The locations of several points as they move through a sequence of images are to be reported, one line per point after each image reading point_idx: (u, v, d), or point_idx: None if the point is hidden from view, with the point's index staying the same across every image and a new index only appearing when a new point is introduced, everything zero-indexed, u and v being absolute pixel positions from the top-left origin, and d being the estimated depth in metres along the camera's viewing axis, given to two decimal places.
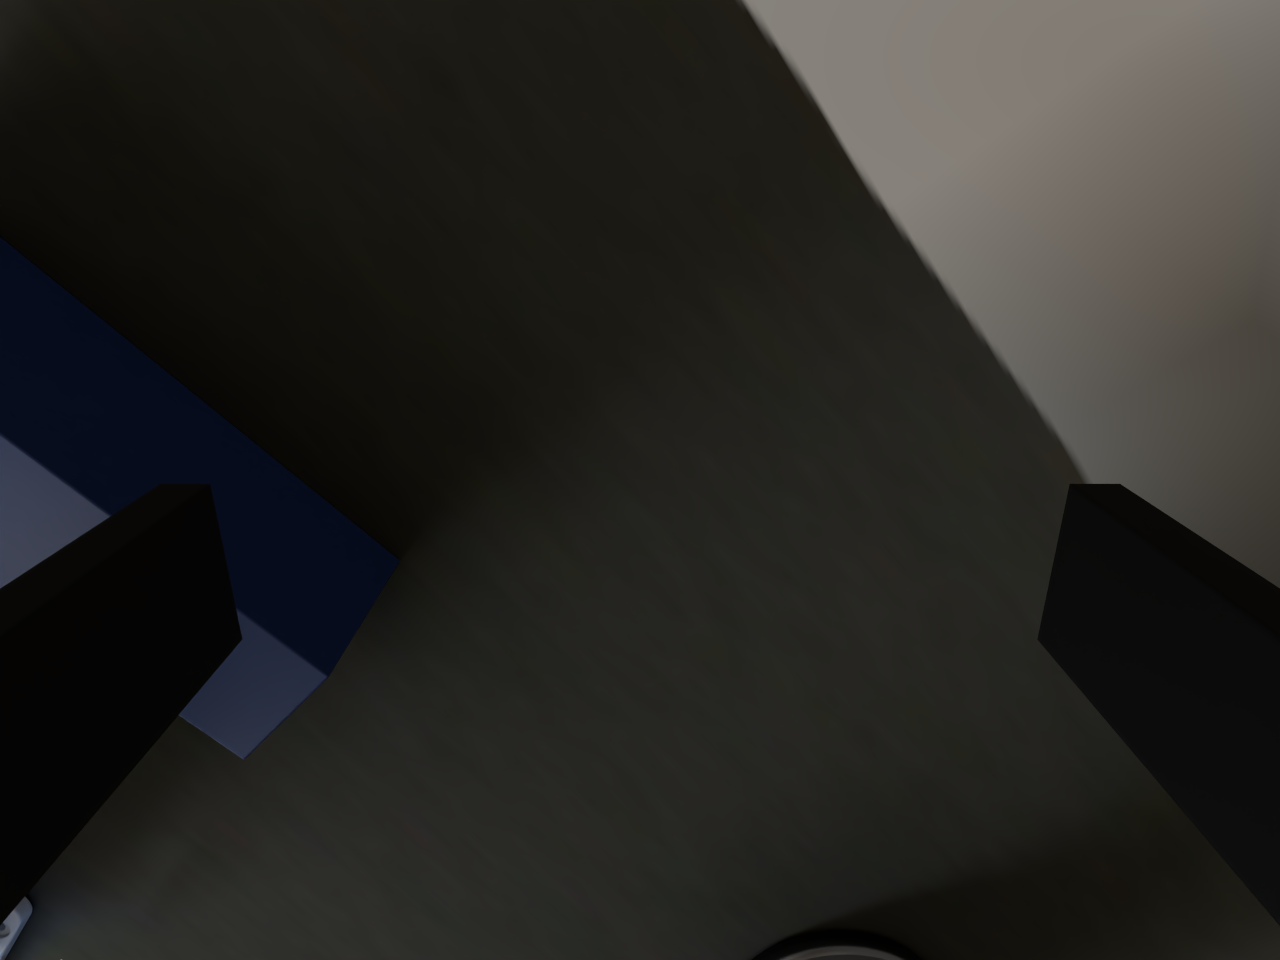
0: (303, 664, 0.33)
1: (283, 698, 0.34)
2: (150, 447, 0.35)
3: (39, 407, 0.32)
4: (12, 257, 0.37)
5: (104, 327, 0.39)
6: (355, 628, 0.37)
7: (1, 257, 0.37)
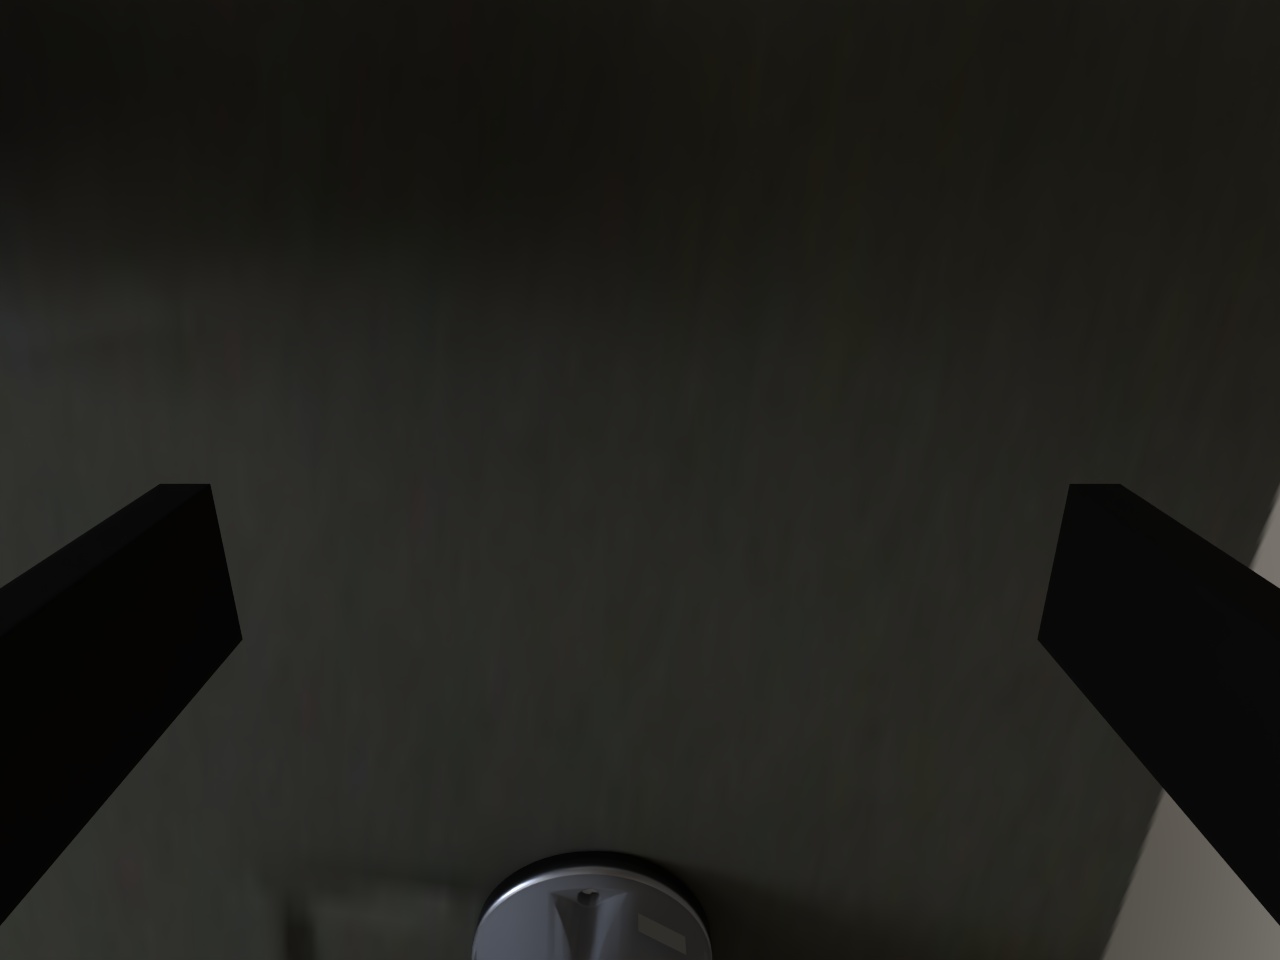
0: None
1: None
2: None
3: None
4: None
5: None
6: None
7: None
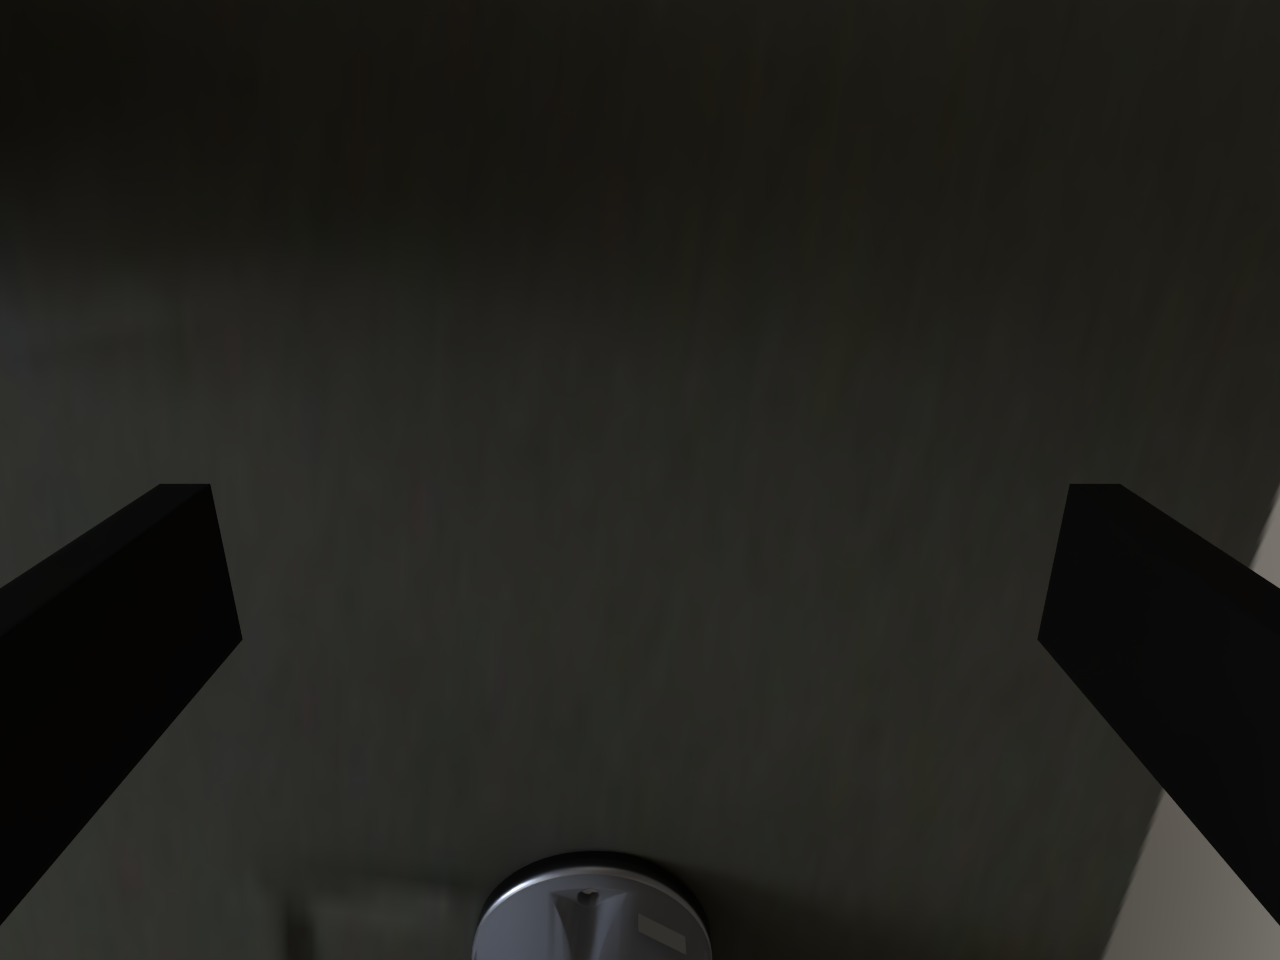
0: None
1: None
2: None
3: None
4: None
5: None
6: None
7: None
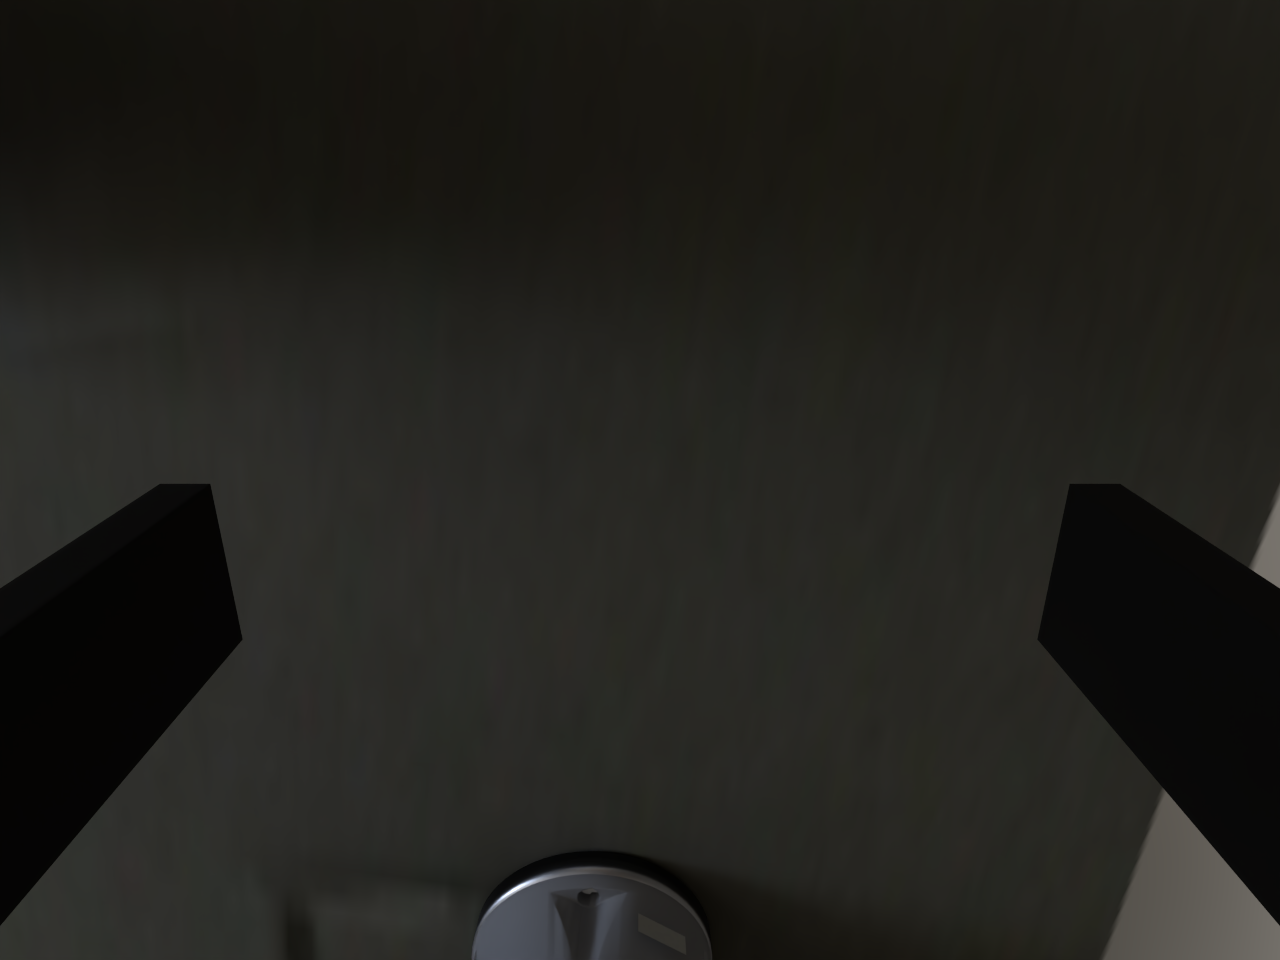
0: None
1: None
2: None
3: None
4: None
5: None
6: None
7: None
